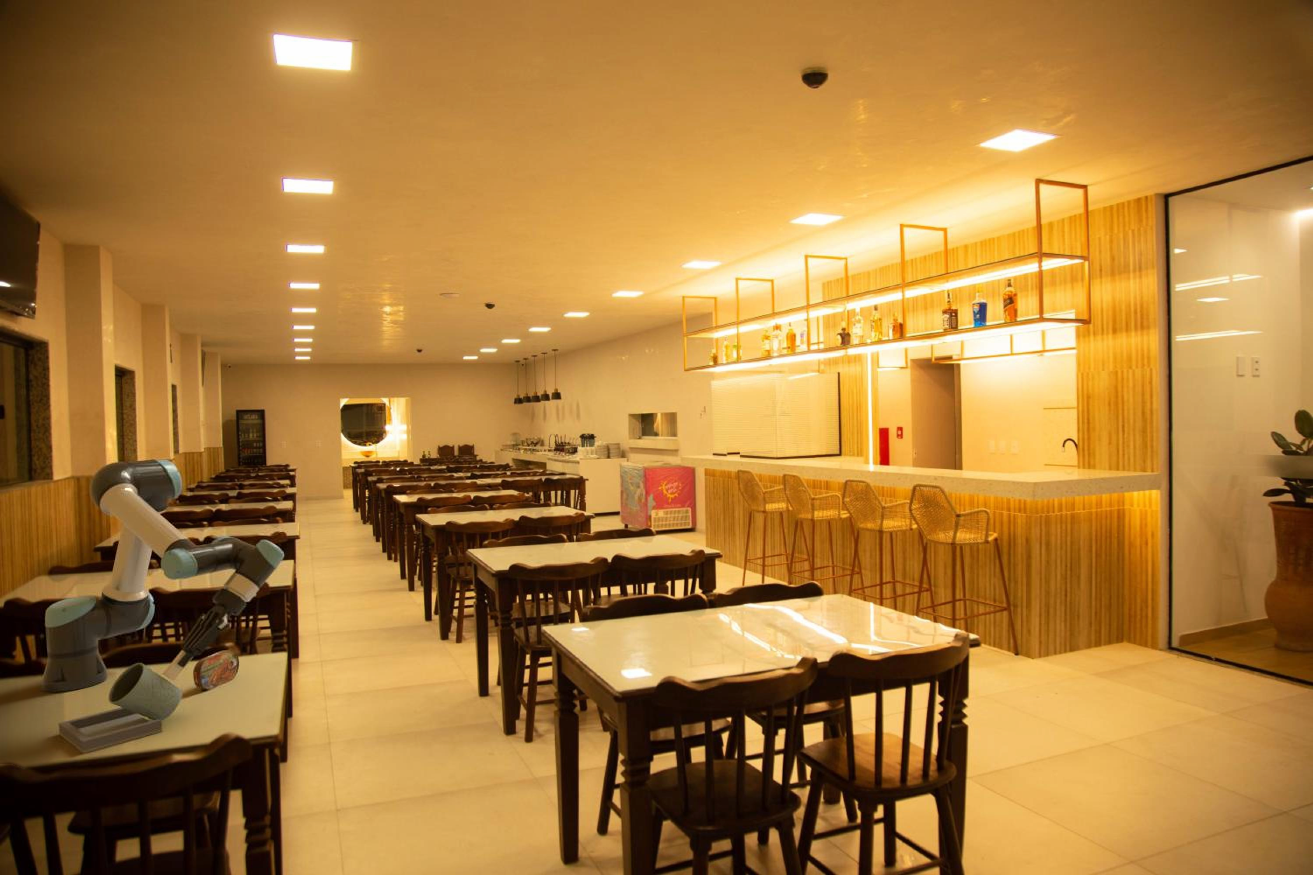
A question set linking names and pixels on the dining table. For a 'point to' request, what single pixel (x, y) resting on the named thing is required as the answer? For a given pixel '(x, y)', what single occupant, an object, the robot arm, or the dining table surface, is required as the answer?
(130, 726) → the shallow rectangular tray
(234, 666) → the tin
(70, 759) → the dining table surface
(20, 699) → the dining table surface
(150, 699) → the green embossed cup
